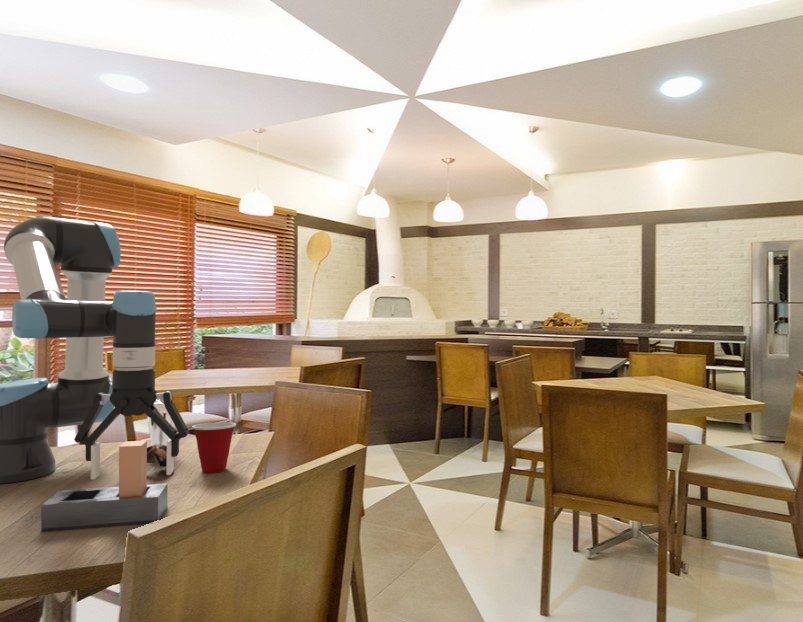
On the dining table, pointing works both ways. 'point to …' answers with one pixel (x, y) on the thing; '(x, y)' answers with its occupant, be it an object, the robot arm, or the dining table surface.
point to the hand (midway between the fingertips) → (133, 475)
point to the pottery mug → (158, 456)
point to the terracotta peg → (133, 468)
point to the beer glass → (155, 432)
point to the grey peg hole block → (102, 508)
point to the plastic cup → (214, 445)
